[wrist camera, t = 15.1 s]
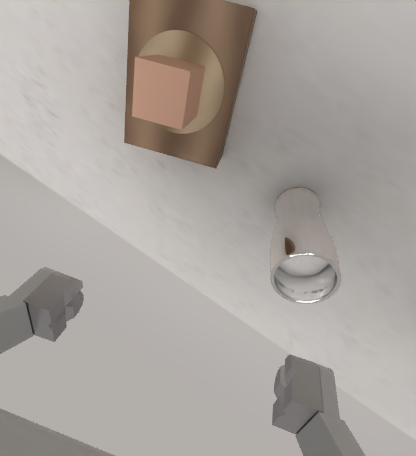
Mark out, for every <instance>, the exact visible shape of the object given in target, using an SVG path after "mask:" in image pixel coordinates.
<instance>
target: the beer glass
mask: <svg viewBox="0 0 416 456" xmlns="http://www.w3.org/2000/svg"><path fill="white" fill-rule="evenodd" d="M275 213H276V216H277V219H278V221H277V224H276V226H275V229H274V232H273V235H272V239H271V243H270V272H271V284H272V286H273V288H274V289H275V291H276V292H277V293H278V294H279V295H280V296H282V297H283V298H285V299H287V300H290V301H292V302H296V303H305V304H308V303H316V302H320V301H323V300H325V299H327V298H329V297H330V296H332V295H333V294H334V293H335V292H336V291H337V290H338V288H339V286H340V283H341V274H340V269H339V261H338V255H337V250H336V246H335V243H334V240H333V237H332V235H331V234H330V232H329V230H328V228H327V226H326V225H325V223H324V222H323V220H322V219H321V217H320V215H319V214H320V201H319V199H318V197H317V196H316V195H315V194H314V193H313V192H312V191H310V190H308V189H305V188H292V189H289V190H287V191H285V192H283V193H282V194H281V195H280V196H279V197H278V199H277V201H276V204H275Z"/></svg>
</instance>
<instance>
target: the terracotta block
mask: <svg viewBox="0 0 416 456" xmlns="http://www.w3.org/2000/svg"><path fill="white" fill-rule="evenodd" d="M204 72H205V66H202V65H198V64H194V63H190V62H186V61H183V60H179V59H175V58H171V57H167V56H164V55H160V54H157V55H148V56H139V57H135V66H134V86H133V106H132V116H133V117H136V118H140V119H144V120H147V121H151V122H154V123H158V124H162V125H165V126H169V127H173V128H176V129H180V130H182V129H183V128H185V127H186V126H187V125H188V124H189V123H190V122H191V121H192V120H193V119H194V118H196V117H197V112H198V106H199V101H200V95H201V89H202V84H203V78H204Z"/></svg>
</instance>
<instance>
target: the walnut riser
mask: <svg viewBox="0 0 416 456" xmlns="http://www.w3.org/2000/svg"><path fill="white" fill-rule="evenodd" d="M256 14H257V11H256V10H255V9H254V8H251V7H246V6H242V5H238V4H234V3H230V2H226V1H222V0H130V5H129V32H128V58H127V85H126V112H125V139H124V143H128V144H131V145H135V146H138V147H142V148H146V149H149V150H153V151H156V152H160V153H163V154H167V155H170V156H174V157H178V158H181V159H185V160H188V161H192V162H195V163H199V164H202V165H206V166H209V167H213V168H216V167H217V165H218V163H219V161H220V159H221V157H222V153H223V149H224V145H225V141H226V137H227V133H228V129H229V125H230V120H231V116H232V112H233V108H234V104H235V100H236V96H237V92H238V88H239V84H240V79H241V75H242V71H243V67H244V63H245V59H246V55H247V51H248V47H249V43H250V38H251V34H252V30H253V26H254V22H255V18H256ZM157 54H160V55H164V56H167V57H171V58H175V59H179V60H183V61H186V62H190V63H194V64H198V65H202V66H205V72H204V78H203V84H202V89H201V95H200V101H199V106H198V112H197V117H196V118H194V119H193V120H192V121H191V122H190V123H189V124H188V125H187V126H186V127H185V128H183V129H182V130H180V129H176V128H173V127H169V126H165V125H162V124H158V123H154V122H151V121H147V120H144V119H140V118H136V117H133V116H132V106H133V86H134V66H135V57H139V56H148V55H157Z"/></svg>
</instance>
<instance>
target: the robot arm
mask: <svg viewBox="0 0 416 456" xmlns="http://www.w3.org/2000/svg"><path fill="white" fill-rule="evenodd" d="M82 287H83V285H82V281H81V280H78V279H76V278H73V277H70V276H67V275H65V274H62V273H60V272H57V271H55V270H52V269H49V268H46V267H45V268H42V269H40V270H39V271H38V272H36V273H35V274H34V275H33V276H32V277H31V278H30V279H28V280H27V281H26V282H25V283H24V284H23V285H21V286H20V287H19V288H18V289H17V290H16V291H14V292H13V293H12V294H11V295H10V296H6V295H4V296H2V297H0V354H1V353H3V352H5V351H6V350H8V349H10V348H12V347H14V346H16V345H18V344H19V343H21V342H23V341H25V340H27V339H29V338H30V337H32V336H33V335H36V336H39V337H42V338H45V339H48V340H51V341H53V342H55V341H56V339H57V338H58V337H59V336H60V335H61V333H62V332H63V331H64V330H65V328H66V321H68V320H70V319H72V318H74V317H75V316H76V315H77V313H78V312H79V310H80V308H81V306H82V304H83V300H84V299H83V294H82V293H81V291H80V290H81V289H82ZM274 393H275V395H276V397H277V400H276V402H275V403H274V404H273V420H272V425H274V426H277V427H279V428H282V429H284V430H286V431H289V432H291V433H294V434H296V438H297V441H298V443H299V446H300V448H301V451H302V453H303V456H365V454H364V453H363V451H362V449H361V448H360V446H359V444H358V443H357V441H356V439H355V438H354V436H353V434H352V433H351V431H350V430H349V428H348V426H347V425H346V423H345V421H343V420H341V419H340V417H339V409H338V401H337V394H336V385H335V378H334V372H333V370H332V369H330V368H327V367H324V366H321V365H318V364H316V363H314V362H311V361H308V360H305V359H302V358H299V357H296V356H293V355H288V356H287V358H286V359H285V365H283V366H281V367H280V368H279V370H278V372H277V375H276V379H275V384H274ZM0 456H114V455H112V454H110V453H107V452H105V451H102V450H100V449H98V448H95V447H93V446H90V445H88V444H85V443H83V442H80V441H78V440H76V439H73V438H71V437H68V436H66V435H64V434H61V433H59V432H56V431H54V430H51V429H49V428H47V427H44V426H42V425H39V424H37V423H34V422H32V421H29V420H27V419H25V418H22V417H20V416H17V415H15V414H12V413H10V412H8V411H5V410H3V409H0Z"/></svg>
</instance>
